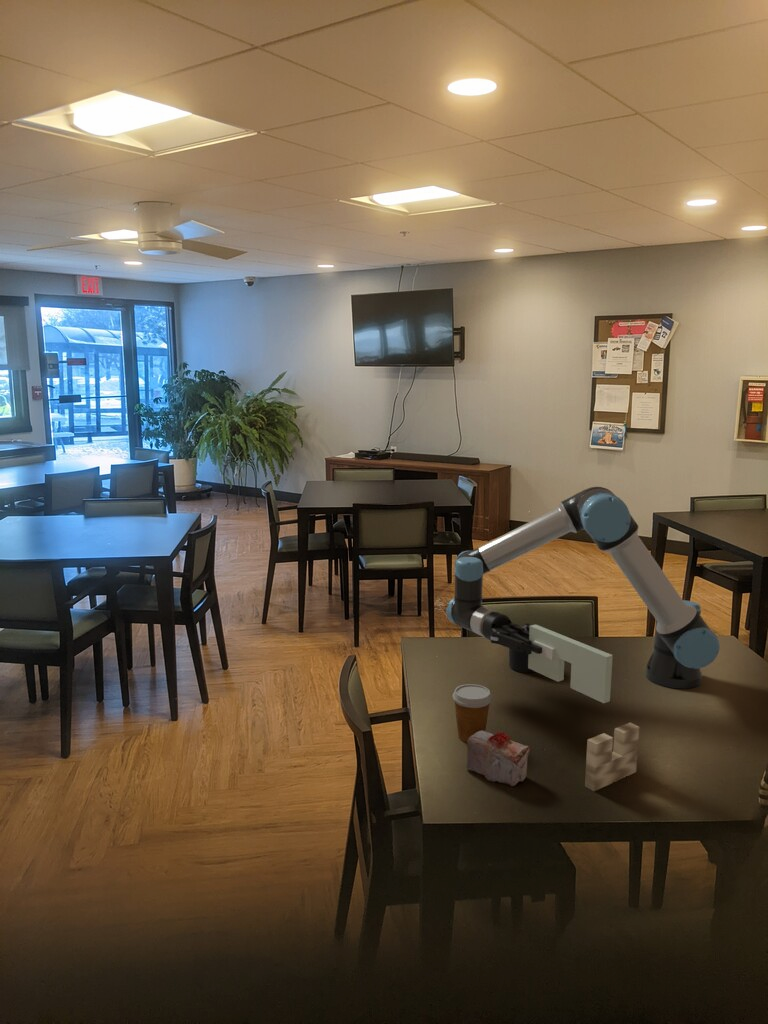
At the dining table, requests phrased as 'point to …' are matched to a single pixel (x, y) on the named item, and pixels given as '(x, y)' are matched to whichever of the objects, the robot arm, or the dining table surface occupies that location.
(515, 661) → the pen holder
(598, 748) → the birch slotted plate
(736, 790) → the dining table surface
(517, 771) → the food item
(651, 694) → the dining table surface
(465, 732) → the disposable coffee cup
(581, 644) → the sage slotted plate
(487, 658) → the dining table surface
